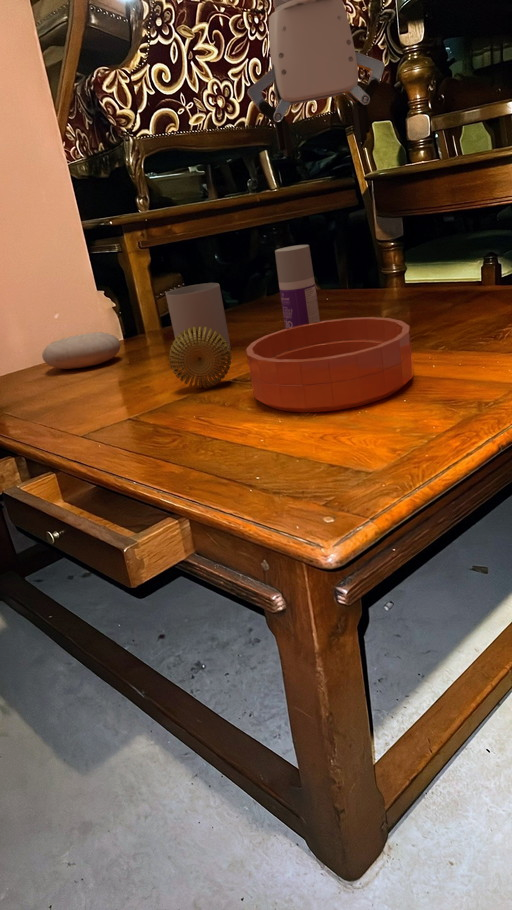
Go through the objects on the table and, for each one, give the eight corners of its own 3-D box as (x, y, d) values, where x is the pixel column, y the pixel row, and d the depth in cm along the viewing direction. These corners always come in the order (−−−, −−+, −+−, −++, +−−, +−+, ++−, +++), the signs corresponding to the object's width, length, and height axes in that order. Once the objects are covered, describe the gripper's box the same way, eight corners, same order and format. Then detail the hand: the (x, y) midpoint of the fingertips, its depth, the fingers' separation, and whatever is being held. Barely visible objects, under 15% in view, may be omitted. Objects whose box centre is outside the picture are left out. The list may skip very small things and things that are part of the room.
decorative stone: (38, 379, 111) (30, 348, 109) (57, 364, 119) (49, 335, 118) (115, 367, 110) (107, 336, 108) (128, 353, 118) (122, 324, 116)
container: (284, 365, 94) (266, 252, 89) (301, 355, 98) (286, 246, 92) (313, 366, 91) (297, 249, 86) (330, 355, 95) (316, 243, 89)
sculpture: (236, 377, 92) (225, 318, 89) (236, 386, 88) (224, 324, 86) (177, 387, 93) (165, 328, 90) (174, 396, 89) (161, 335, 86)
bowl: (389, 355, 90) (385, 309, 88) (435, 395, 73) (431, 339, 71) (249, 380, 90) (241, 335, 88) (261, 427, 73) (252, 372, 71)
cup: (203, 361, 104) (190, 295, 100) (167, 359, 109) (154, 295, 106) (241, 346, 109) (230, 282, 105) (206, 344, 115) (194, 283, 111)
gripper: (367, -11, 87) (383, 137, 93) (231, 16, 86) (256, 162, 93) (382, -29, 80) (398, 133, 86) (235, 0, 79) (262, 160, 86)
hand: (325, 148), depth 89 cm, fingers open, 9 cm apart
